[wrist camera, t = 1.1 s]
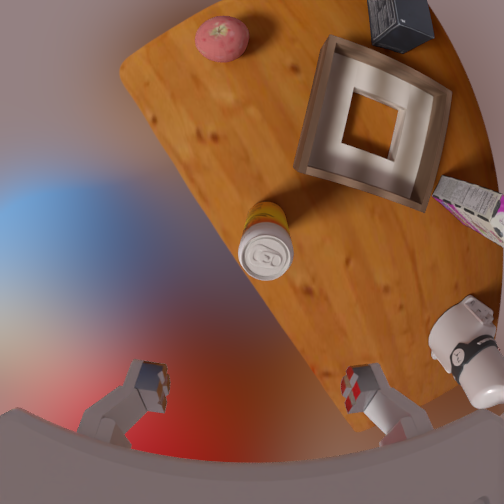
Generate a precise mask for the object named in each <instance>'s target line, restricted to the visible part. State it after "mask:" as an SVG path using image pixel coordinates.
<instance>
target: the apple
mask: <svg viewBox="0 0 504 504" xmlns="http://www.w3.org/2000/svg"><path fill="white" fill-rule="evenodd" d="M248 41H249V30H248V29H247V27H246V25H245V24H244V23H242V22H241V21H240V20H238V19H236V18H233V17H230V16H217V17H214V18H211V19H209V20H207V21H206V22H204V23H203V24H202V25H201V26H200V28H199V29H198V31H197V33H196V37H195V43H196V47H197V49H198V50H199V52H200V53H201V54H202V55H203V56H205V57H206V58H208V59H209V60H212V61H216V62H229V61H233V60H235V59H237V58H239V57H240V56H241V55H242V54H243V53H244V51H245V50H246V47H247V45H248Z"/></svg>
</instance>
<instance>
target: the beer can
mask: <svg viewBox="0 0 504 504" xmlns="http://www.w3.org/2000/svg"><path fill="white" fill-rule="evenodd" d="M293 255H294V253H293V246H292V242H291V237H290V233H289V229H288V224H287V220H286V216H285V213H284V211H283V210H282V208H281V207H280V206H278V205H277V204H275V203H272V202H261V203H258V204H256V205H254V206H253V207H252V208H251V209H250V211H249V213H248V215H247V219H246V223H245V227H244V230H243V234H242V238H241V242H240V246H239V250H238V256H239V261H240V263H241V265H242V267H243V268H244V269H245V271H246V272H247V273H248V274H249V275H250V276H252V277H254V278H256V279H259V280H273V279H276V278H278V277H280V276H281V275H283V274H284V273H285V272H286V270H287V269H288V268H289V267H290V265H291V263H292V260H293Z"/></svg>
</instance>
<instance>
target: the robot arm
mask: <svg viewBox="0 0 504 504" xmlns="http://www.w3.org/2000/svg"><path fill="white" fill-rule="evenodd" d="M493 319H494V318H493V311H492V309H490V308H489V307H488V306H486V305H485V304H483V303H482V302H480V301H479V300H477V299H476V298H475V297H473V296H472V295H468V296H467V297H466V298H465V299H464V300H463V301H462V302H460V303H459V304H457V305H455V306H453V307H452V308H450V309H449V310H448V311H446V312H445V313H444V314H443V315H442V316H441V317H440V318H439V319H438V321H437V322H436V323H435V325H434V327H433V328H432V330H431V333H430V336H429V346H430V348H431V350H432V353H431V356H432V358H433V359H438V360H439V362H440V363H441V364H442V366H443V367H444V368H445V370H446V371H447V372H448V373H452V374H453V377H454V379H455V380H456V381H457V383H458V384H460V385H461V386H462V388H463V389H464V391H465V393H466V394H467V396H468V399H469V400H470V402H471V404H472V405H473V406H474V407H475V408H478V409H479V410H477V411H475V412H473V413H471V414H469V415H467V416H464V417H462V418H460V419H458V420H456V421H453V422H451V423H449V424H446V425H444V426H442V427H439V428H437V429H433V427H432V425H431V422H430V420H429V418H428V416H427V413H426V411H425V410H424V409H422V408H421V407H419V406H418V405H417V404H415V403H414V402H412V401H411V400H410V399H408V398H407V397H405V396H404V395H402V394H401V393H400V392H398V391H397V390H395V389H394V388H390V386H389V384H388V382H387V380H386V377H385V375H384V373H383V371H382V369H381V367H380V364H378V363H373V364H363V365H355V366H349V367H348V368H347V370H346V373H347V375H345V376H344V377H343V379H342V381H341V392H342V395H343V396H344V397H345V398H346V401H345V406H346V409H347V413H348V414H349V413H357V412H364V413H365V414H366V415H367V416H368V417H369V418H370V419H371V420H372V421H373V422H374V423H375V424H376V425H377V426H378V427H379V428H380V429H381V430H382V431H383V432H384V433H385V434H386V436H385V437H384V438H383V439H382V440H381V441H380V443H379V445H380V447H378V448H374V449H369V450H365V451H360V452H355V453H350V454H345V455H339V456H333V457H326V458H319V459H312V460H302V461H290V462H272V463H230V462H212V461H201V460H192V459H183V458H176V457H170V456H164V455H158V454H153V453H147V452H142V451H138V450H134V449H131V443H130V442H129V441H128V439H127V438H126V437H125V435H124V434H125V433H126V432H127V431H128V430H129V429H130V428H131V427H132V426H133V425H134V424H135V423H136V422H137V421H138V420H139V419H140V418H141V417H142V416H143V415H144V414H145V413H146V412H147V411H152V412H159V413H165V408H166V404H167V400H166V396H167V395H168V394H169V390H170V377H169V375H168V374H167V365H166V364H161V363H154V362H149V361H143V360H137V359H134V360H133V361H132V363H131V365H130V368H129V371H128V373H127V376H126V379H125V381H124V384H123V386H118V387H117V388H116V389H114V390H113V391H112V392H110V393H109V394H107V395H106V396H105V397H103V398H102V399H101V400H99V401H98V402H96V403H95V404H93V405H92V406H91V407H89V408H88V409H86V410H85V412H84V414H83V417H82V419H81V422H80V425H79V427H78V430H77V432H74V431H71V430H69V429H66V428H63V427H61V426H59V425H56V424H54V423H52V422H49V421H47V420H45V419H43V418H41V417H38V416H36V415H34V414H32V413H30V412H28V411H26V410H24V409H22V408H18V407H17V408H14V409H12V410H10V411H8V412H6V413H4V414H2V415H1V416H0V504H504V413H503V414H502V415H501V416H500V417H499V416H497V415H496V414H494V413H492V412H490V411H488V410H486V409H484V408H488V407H491V406H494V405H497V404H500V403H504V356H503V355H502V354H501V353H500V352H499V351H500V349H499V350H498V346H497V344H496V341H495V340H494V335H495V331H496V327H495V326H494V324H493V323H492V321H493Z"/></svg>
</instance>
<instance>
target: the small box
mask: <svg viewBox="0 0 504 504" xmlns="http://www.w3.org/2000/svg"><path fill="white" fill-rule="evenodd" d="M367 4H368V11H369V20H370V30H371V41H372V45H373V46H377V47H381V48H385V49H389V50H392V51H394V52H398V53H402V54H404V53H405V52H407V51H409V50H411V49H413V48H415V47H417V46H419V45H421V44H423V43H425V42H427V41H429V40H431V39H433V38H434V32H433V26H432V21H431V16H430V12H429V7H428V3H427V0H367Z"/></svg>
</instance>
